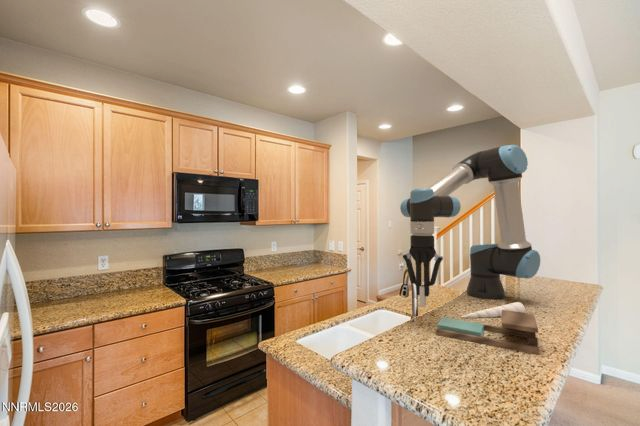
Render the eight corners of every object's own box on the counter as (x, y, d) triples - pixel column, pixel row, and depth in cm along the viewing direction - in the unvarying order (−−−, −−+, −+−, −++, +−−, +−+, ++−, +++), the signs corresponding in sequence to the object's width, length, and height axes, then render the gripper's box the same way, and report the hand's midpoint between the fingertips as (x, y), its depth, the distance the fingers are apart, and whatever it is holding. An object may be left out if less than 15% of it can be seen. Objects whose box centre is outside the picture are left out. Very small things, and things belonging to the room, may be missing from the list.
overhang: (436, 334, 88) (436, 312, 88) (444, 320, 99) (443, 301, 100) (538, 354, 74) (537, 328, 75) (534, 336, 86) (533, 313, 86)
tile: (437, 333, 90) (437, 324, 90) (443, 325, 97) (443, 317, 97) (481, 342, 83) (480, 332, 83) (484, 333, 90) (484, 324, 90)
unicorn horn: (454, 315, 106) (454, 301, 106) (517, 313, 107) (516, 300, 107) (461, 319, 101) (461, 305, 101) (526, 317, 102) (526, 304, 102)
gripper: (399, 234, 97) (400, 305, 96) (440, 235, 90) (441, 311, 89) (405, 233, 103) (406, 300, 102) (445, 234, 96) (446, 305, 95)
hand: (423, 305), depth 96 cm, fingers closed
